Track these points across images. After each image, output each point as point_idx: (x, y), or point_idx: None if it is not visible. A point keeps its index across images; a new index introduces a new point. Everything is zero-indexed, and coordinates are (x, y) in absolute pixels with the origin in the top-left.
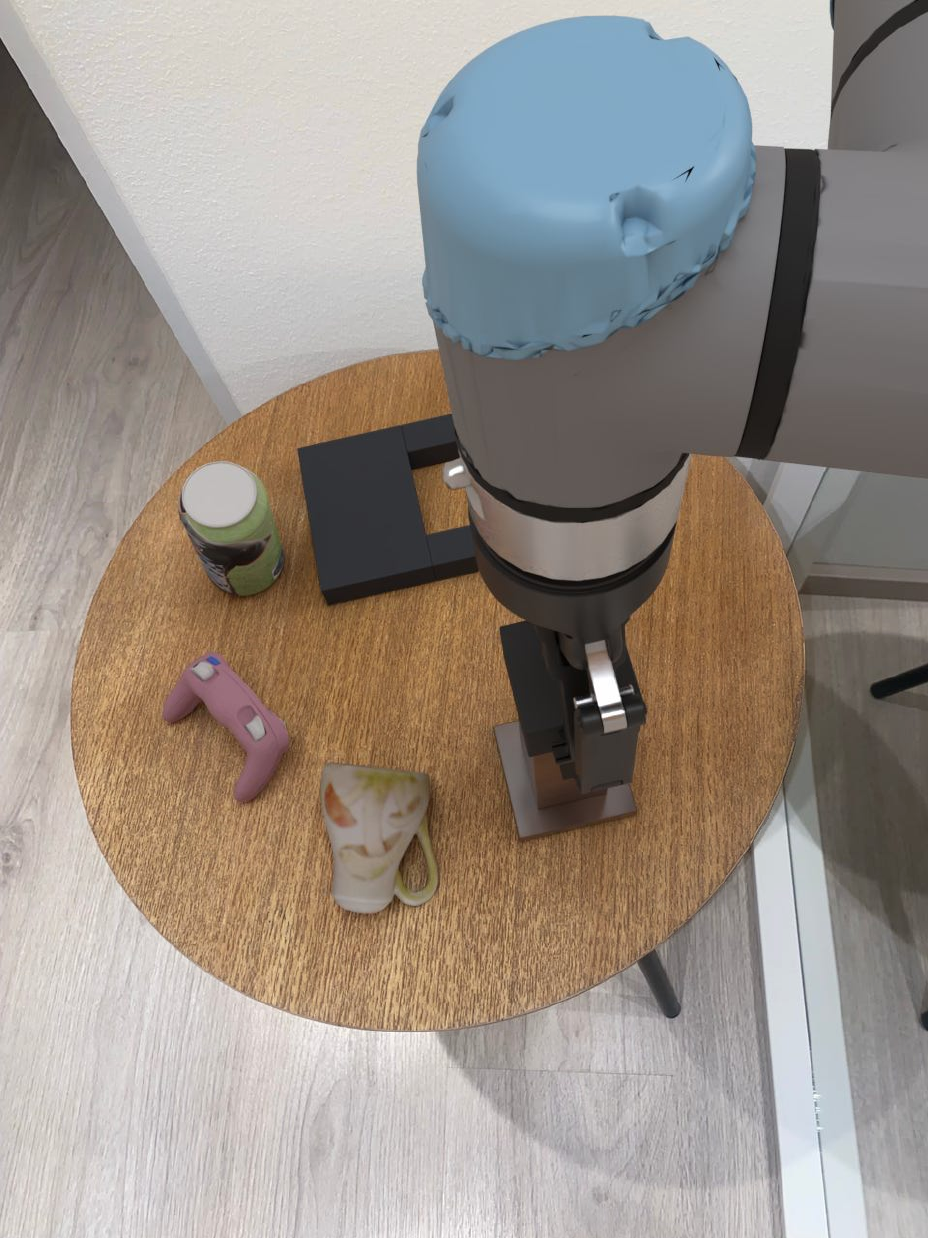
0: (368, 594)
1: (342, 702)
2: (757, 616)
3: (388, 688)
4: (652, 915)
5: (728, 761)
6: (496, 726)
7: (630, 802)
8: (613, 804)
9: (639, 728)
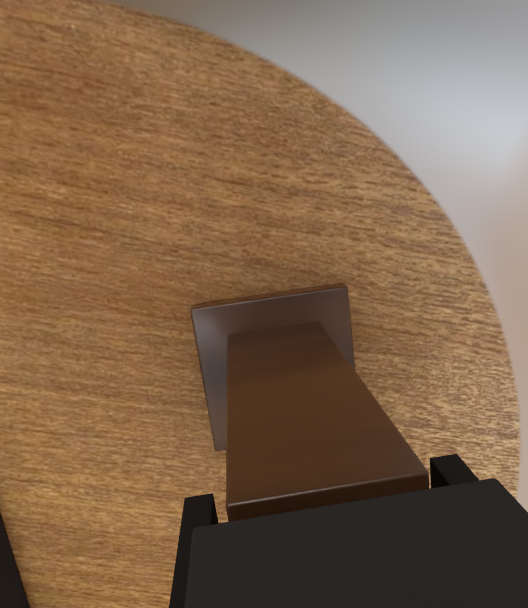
0: (18, 584)
1: (166, 600)
2: (57, 51)
3: (151, 554)
4: (461, 280)
5: (286, 148)
6: (216, 447)
7: (334, 293)
8: (334, 315)
9: (513, 498)
